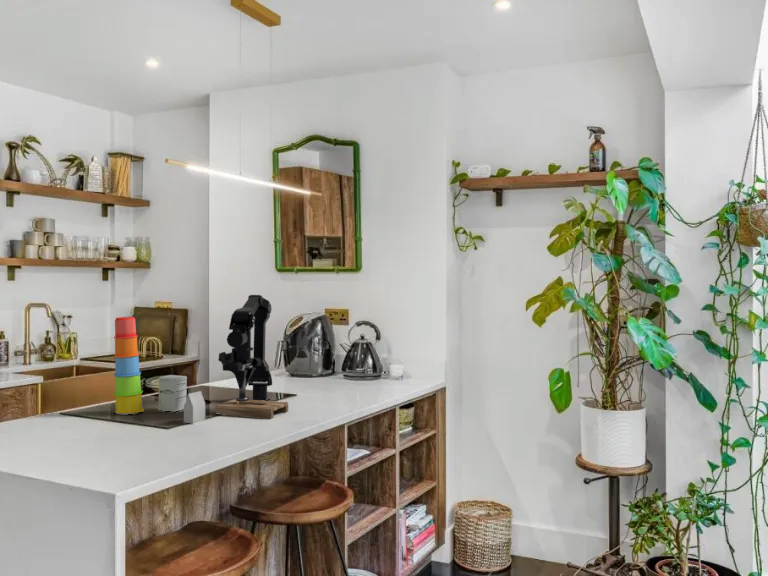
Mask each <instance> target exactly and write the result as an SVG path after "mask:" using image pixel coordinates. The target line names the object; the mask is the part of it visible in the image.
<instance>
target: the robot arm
mask: <svg viewBox="0 0 768 576" xmlns="http://www.w3.org/2000/svg"><path fill="white" fill-rule="evenodd" d="M271 313H272V304H271V302H270V301H269V300H268V299H267V298H264V297H263V295H261V294H250V295H248V297H247V299H246V301H245V303H244V304H243V306H242V307H240V308H236V309H235V310H234V311H233V313H232V314H231V317H230V322H229V327H228V330H231V332H229V334H228V335H227V338H226V343H227V344H228V345H229V347H231V348H232V349H231V352H229V353H226V351H223V352H220V353H219V354H218V359H217V360H218V362H220V363H221V365H222V371H224V372H225V371H226V372H231V373H232V374H233V375H234V376H235V380H236V383H237V385H238V386H237V387H238V389H239V388H240V389H242V388H243V385H244V381H245V377H246V387H247V386H252V399H253V400H266V399H267V398H268V387H271V386H273V379H272V373H271V370H270V368H269V367H270V365H269V364H268V363H267V361H266V328H267V327H266V323H267V322H268V321H269V319H270V317H271ZM252 328H253V329H252ZM252 330H253V347H252V341H251V340H252V333H251V332H252ZM252 351H253V357H252V354H251V353H252Z"/></svg>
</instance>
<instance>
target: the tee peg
mask: <svg viewBox="0 0 768 576" xmlns="http://www.w3.org/2000/svg"><path fill="white" fill-rule="evenodd" d="M246 389H247V386H246V377H245V381H244V385H243V388H242V389H240V388H239V387H238V396H236V397H235V399H236V401H248V400H250V399H249V396H247V395H246V394H247V390H246Z"/></svg>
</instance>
